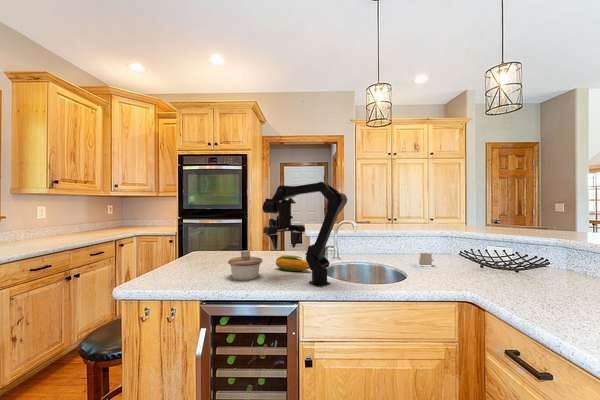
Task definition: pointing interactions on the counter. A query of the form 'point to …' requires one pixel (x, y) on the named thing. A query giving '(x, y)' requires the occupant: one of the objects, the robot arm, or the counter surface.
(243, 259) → the lid
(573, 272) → the counter surface
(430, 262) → the architectural model
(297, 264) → the corn
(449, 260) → the counter surface
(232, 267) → the ramekin
